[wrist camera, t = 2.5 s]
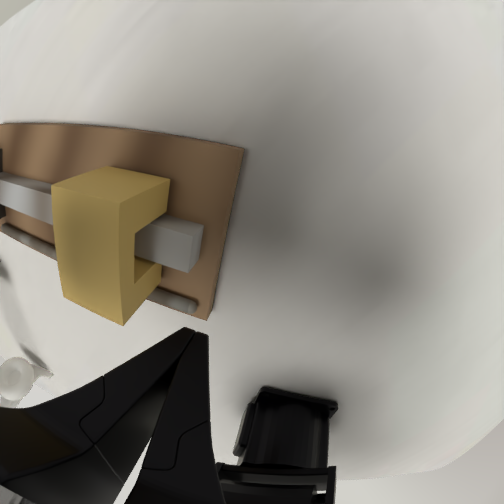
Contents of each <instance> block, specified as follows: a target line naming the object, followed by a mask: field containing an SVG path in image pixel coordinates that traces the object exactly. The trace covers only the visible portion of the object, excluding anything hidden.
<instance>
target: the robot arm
mask: <svg viewBox="0 0 504 504" xmlns="http://www.w3.org/2000/svg"><path fill="white" fill-rule="evenodd" d="M337 410H338V403H336V402H332V401H326V400H321V399H316V398H311V397H306V396H301V395H296V394H292V393H288V392H283V391H279V390H275V389H271V388H266V387H264V388H261V389H260V391H259V393H258V395H257V397H256V399H255V401H254V403H249V404H248V406H247V408H246V410H245V412H244V414H243V417H242V420H241V424H240V428H239V431H238V435H237V439H236V442H235V446H234V449H233V454H234V456H238V457H239V459H238V463H237V465H229V464H225V463H221V462H217V463H216V464H215V459H214V453H213V448H212V438H211V422H210V393H209V336H208V335H207V334H204V333H201V332H196V331H195V330H192V329H190V328H187V327H183V328H181V329H180V330H178V331H177V332H175V333H173V334H172V335H170V336H168V337H167V338H165V339H163V340H162V341H160V342H158V343H157V344H155V345H154V346H152V347H150V348H149V349H147V350H145V351H144V352H142V353H140V354H138V355H137V356H135V357H133V358H132V359H130V360H128V361H127V362H125V363H123V364H122V365H120V366H118V367H116V368H115V369H113V370H111V371H110V372H108V373H106V374H104V376H101V377H99V378H97V379H95V380H94V381H92V382H90V383H88V384H86V385H84V386H82V387H80V388H78V389H76V390H74V391H71V392H69V393H67V394H64V395H62V396H59V397H57V398H54V399H52V400H49V401H47V402H44V403H41V404H39V405H36V406H33V407H29V408H8V407H0V504H113V503H114V501H115V500H116V498H117V496H118V494H119V493H120V491H121V489H122V487H123V486H124V484H125V482H126V480H127V479H128V477H129V475H130V473H131V472H132V470H133V468H134V466H135V465H136V463H137V461H138V459H139V458H140V456H141V454H142V452H143V451H144V449H145V447H146V445H147V444H148V442H149V440H150V438H151V440H150V443H149V446H148V449H147V452H146V455H145V458H144V461H143V464H142V469H141V470H140V473H139V476H138V478H137V481H136V483H135V486H134V487H133V489H132V491H131V492H130V494H129V496H128V498H127V499H126V501H125V503H124V504H335V493H336V466H329V467H327V464H328V446H329V419H330V418H331V417H332V416H333V414H334V413H335V412H336V411H337ZM324 490H326V493H323V494H317V491H324Z"/></svg>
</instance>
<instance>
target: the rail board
mask: <svg viewBox="0 0 504 504" xmlns="http://www.w3.org/2000/svg"><path fill="white" fill-rule="evenodd" d="M243 153H244V149H243V148H239V147H234V146H230V145H225V144H220V143H216V142H211V141H205V140H200V139H195V138H189V137H184V136H178V135H171V134H165V133H158V132H151V131H144V130H136V129H127V128H118V127H108V126H96V125H82V124H62V123H6V124H0V231H1V232H3V233H4V234H6V235H8V236H10V237H12V238H13V239H15V240H17V241H19V242H21V243H23V244H25V245H27V246H28V247H30V248H32V249H34V250H36V251H38V252H40V253H42V254H44V255H46V256H48V257H50V258H52V259H54V260H56V261H57V255H56V247H55V239H54V229H53V216H52V197H51V185H53V184H55V183H58V182H61V181H63V180H66V179H69V178H72V177H75V176H78V175H81V174H84V173H87V172H90V171H93V170H96V169H99V168H102V167H106V166H110V167H115V168H120V169H125V170H130V171H135V172H140V173H145V174H149V175H154V176H159V177H163V178H168V179H170V186H169V194H168V202H167V211H166V212H165V213H164V214H162V215H161V216H159V217H158V218H156V219H155V220H153V221H152V222H150V223H149V224H148V225H146V226H145V227H143V228H142V229H140V230H139V231H138V232H136V233H135V243H134V255H135V256H138V257H141V258H144V259H147V260H150V261H153V262H156V263H159V264H162V270H161V282H160V283H159V284H158V285H157V287H156V288H155V289H154V290H153V291H152V292H151V294H150V295H149V296H148V297H147V298H146V299H147V300H150V301H152V302H155V303H158V304H160V305H163V306H166V307H168V308H171V309H174V310H177V311H180V312H182V313H185V314H188V315H191V316H194V317H197V318H200V319H203V320H206V321H207V319H208V317H209V315H210V313H211V311H212V306H213V301H214V295H215V290H216V284H217V279H218V274H219V269H220V263H221V258H222V253H223V248H224V243H225V238H226V233H227V228H228V223H229V218H230V213H231V209H232V204H233V199H234V194H235V190H236V185H237V180H238V176H239V171H240V167H241V162H242V158H243Z"/></svg>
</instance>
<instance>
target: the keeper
mask: <svg viewBox="0 0 504 504" xmlns="http://www.w3.org/2000/svg"><path fill="white" fill-rule="evenodd" d="M169 186H170V179H168V178H163V177H159V176H154V175H149V174H145V173H140V172H135V171H130V170H125V169H120V168H115V167H110V166H106V167H102V168H99V169H96V170H93V171H90V172H87V173H84V174H81V175H78V176H75V177H72V178H69V179H66V180H63V181H61V182H58V183H55V184H53V185H51V197H52V216H53V229H54V239H55V247H56V255H57V262H58V269H59V275H60V281H61V286H62V291H63V296H64V297H65V298H67V299H68V300H70V301H72V302H74V303H76V304H78V305H80V306H82V307H84V308H86V309H88V310H90V311H92V312H94V313H96V314H98V315H100V316H102V317H104V318H106V319H108V320H111V321H113V322H115V323H117V324H119V325H122V326H124V325H125V323H126V322H127V321H128V320H129V319H130V317H131V316H132V315H133V314H134V313H135V311H136V310H137V309H138V308H139V307H140V305H141V304H142V303H143V302H144V301H145V300H146V298H147V297H148V296H149V295H150V294H151V292H152V291H153V290H154V289H155V288H156V287H157V285H158V284H159V283H160V282H161V270H162V264H159V263H156V262H153V261H150V260H147V259H144V258H141V257H138V256H135V255H134V243H135V233H136V232H138V231H139V230H140V229H142V228H143V227H145V226H146V225H148V224H149V223H150V222H152V221H153V220H155V219H156V218H158V217H159V216H161V215H162V214H164V213H165V212H166V211H167V202H168V194H169Z"/></svg>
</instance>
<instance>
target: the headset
mask: <svg viewBox="0 0 504 504" xmlns="http://www.w3.org/2000/svg"><path fill="white" fill-rule="evenodd" d="M0 262H1V260H0ZM41 376H44V377H46V378H51V377H52V376H53V374H52V373H51V372H50V371H48V370H46V369H44V368H42V367H40V366H37V365H33V364H30V363H29V362H28V361H27V360H26V359H24V358H21V357H14V358H10V359H8V360H7V361H5V362H4V363H3V364H2V365H1V366H0V394H1V396H2V397H1V403H0V407H8V408H16V406H17V405H18V404H19V402H20V401H21V400H22V398H23V397H24V396H26V395H27V394H28V393H29V391H30V390H31V388H32V386H33V383H34V382H35V381H36V380H37V379H38V378H39V377H41Z"/></svg>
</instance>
